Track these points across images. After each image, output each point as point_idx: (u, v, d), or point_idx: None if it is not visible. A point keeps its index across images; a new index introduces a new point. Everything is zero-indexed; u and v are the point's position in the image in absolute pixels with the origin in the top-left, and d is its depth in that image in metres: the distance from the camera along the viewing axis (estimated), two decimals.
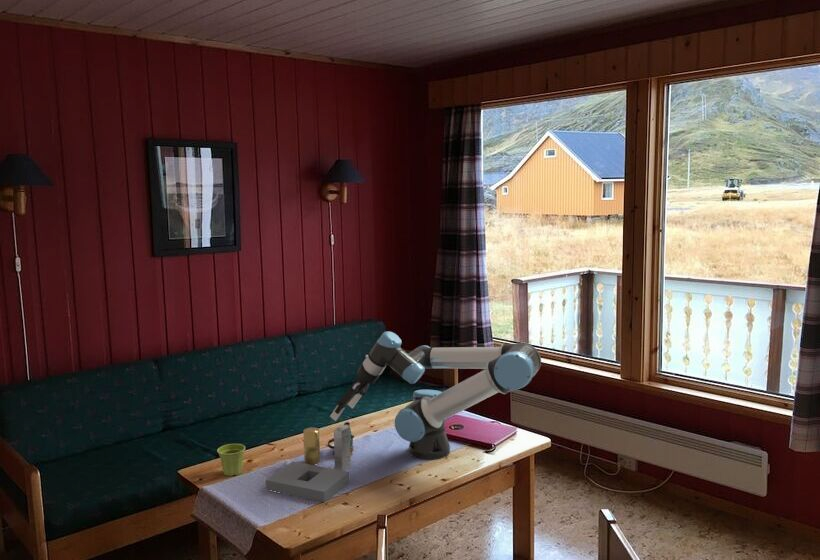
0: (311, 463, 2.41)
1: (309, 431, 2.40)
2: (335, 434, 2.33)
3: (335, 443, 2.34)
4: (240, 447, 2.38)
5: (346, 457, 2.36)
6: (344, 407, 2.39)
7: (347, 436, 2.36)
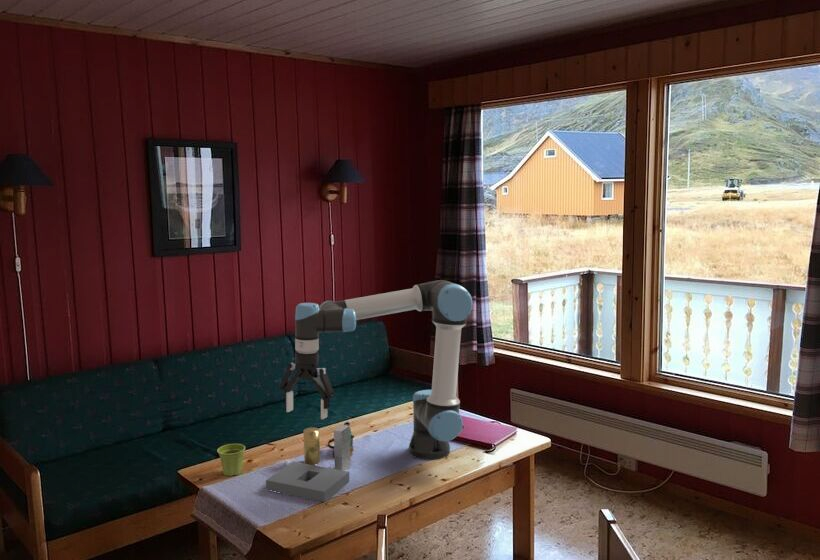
0: (311, 463, 2.41)
1: (309, 431, 2.40)
2: (335, 434, 2.33)
3: (335, 443, 2.34)
4: (240, 447, 2.38)
5: (346, 457, 2.36)
6: None
7: (347, 436, 2.36)
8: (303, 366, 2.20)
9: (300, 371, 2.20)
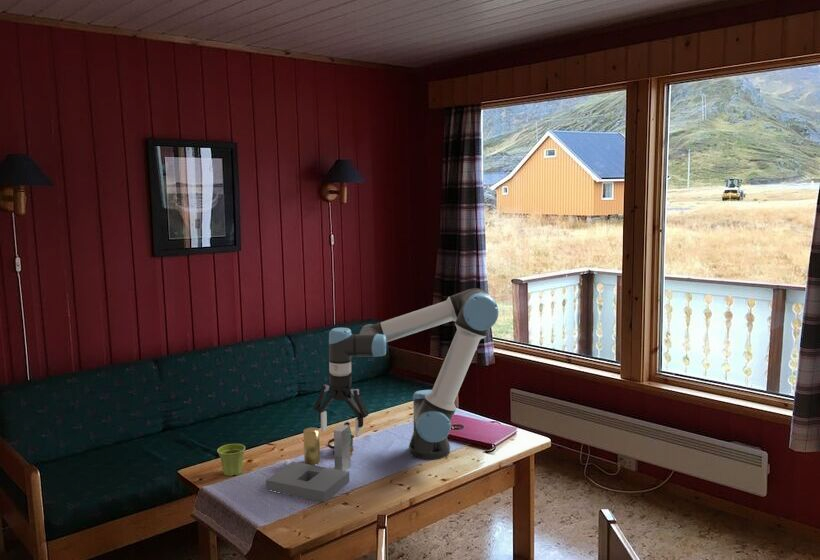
0: (311, 463, 2.41)
1: (309, 431, 2.41)
2: (335, 434, 2.33)
3: (335, 443, 2.34)
4: (240, 447, 2.38)
5: (346, 457, 2.36)
6: None
7: (347, 436, 2.36)
8: (337, 388, 2.32)
9: (334, 392, 2.32)
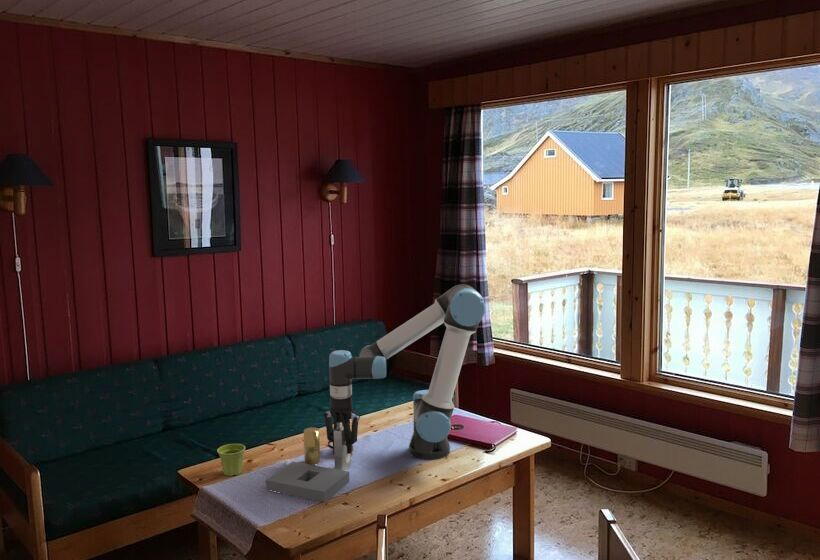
0: (311, 463, 2.41)
1: (309, 431, 2.40)
2: (335, 434, 2.33)
3: (335, 443, 2.34)
4: (240, 447, 2.38)
5: None
6: None
7: None
8: (338, 410, 2.34)
9: (335, 415, 2.33)
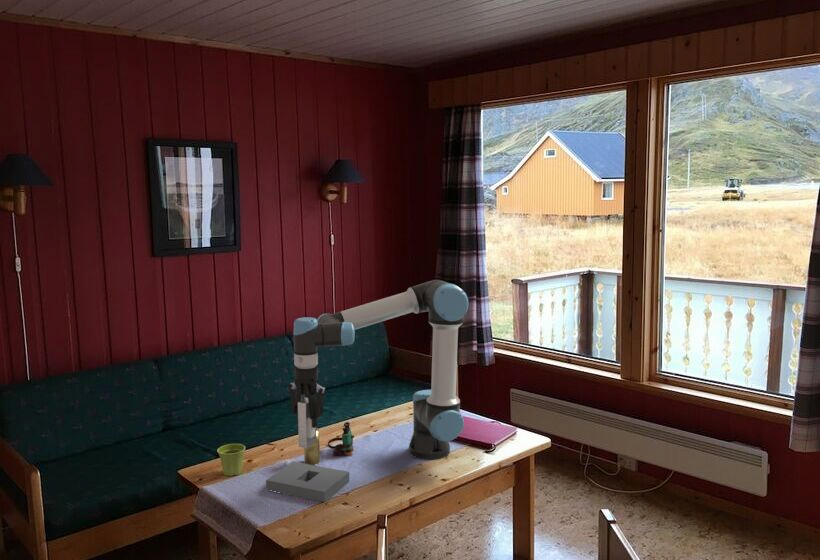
0: (311, 463, 2.41)
1: None
2: (299, 406, 2.19)
3: (299, 416, 2.19)
4: (240, 447, 2.38)
5: None
6: None
7: None
8: (303, 381, 2.19)
9: (300, 386, 2.19)
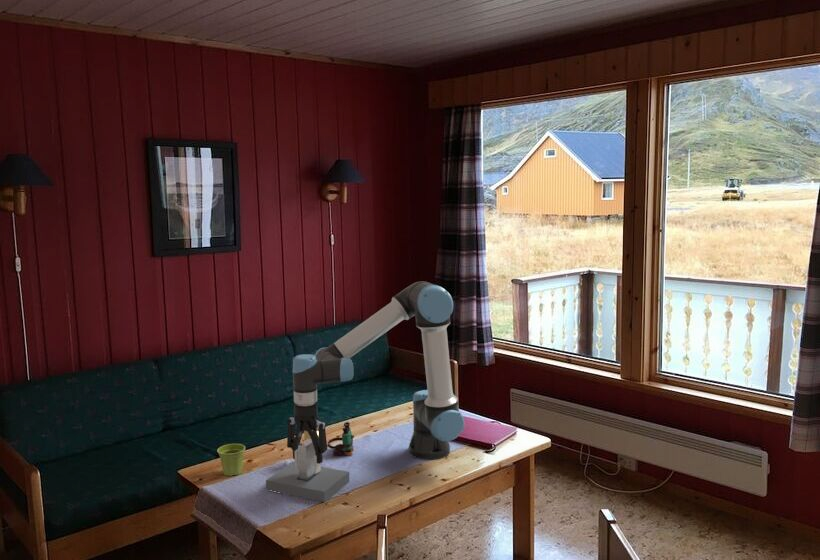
0: None
1: None
2: (300, 449, 2.20)
3: (300, 459, 2.21)
4: (240, 447, 2.38)
5: (311, 473, 2.23)
6: None
7: (313, 451, 2.23)
8: (302, 418, 2.20)
9: (300, 423, 2.20)
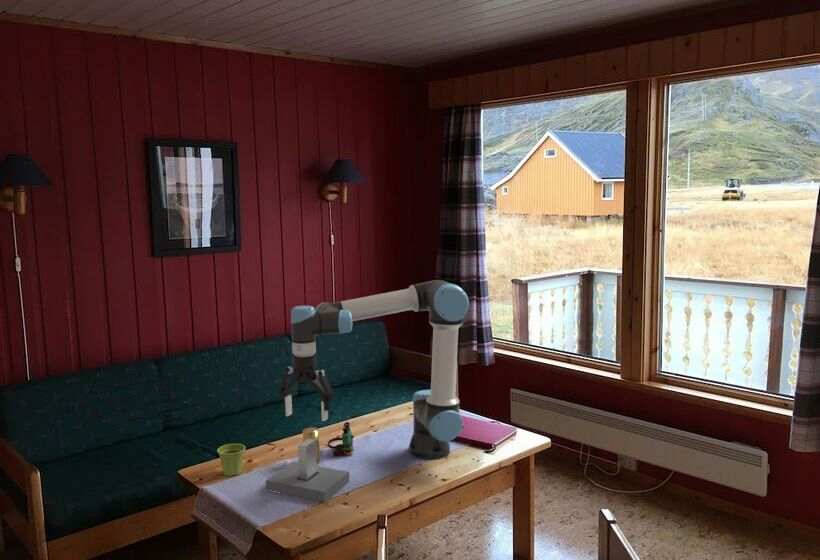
0: None
1: (308, 431, 2.40)
2: (300, 449, 2.20)
3: (300, 459, 2.21)
4: (240, 447, 2.38)
5: (311, 473, 2.23)
6: None
7: (313, 451, 2.23)
8: (301, 369, 2.20)
9: (298, 374, 2.19)
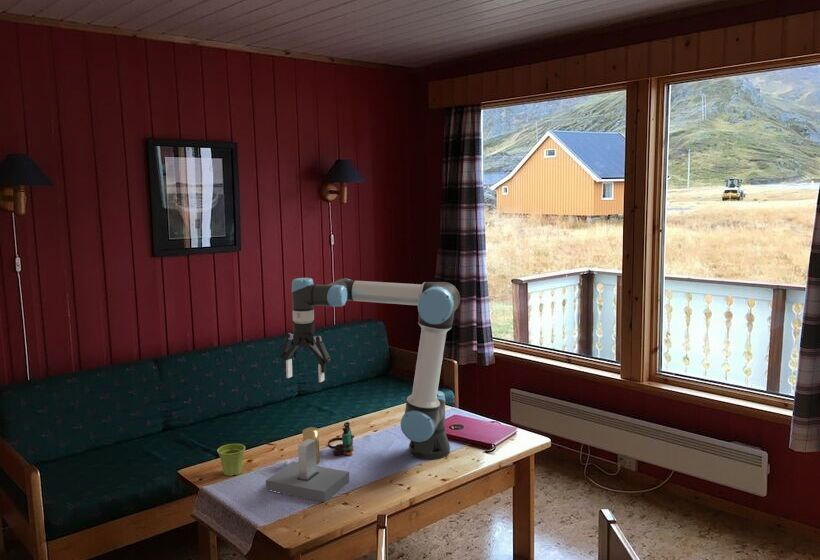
0: None
1: (308, 431, 2.40)
2: (300, 449, 2.20)
3: (300, 459, 2.21)
4: (240, 447, 2.38)
5: (311, 473, 2.23)
6: None
7: (313, 451, 2.23)
8: (300, 335, 2.43)
9: (298, 340, 2.43)
